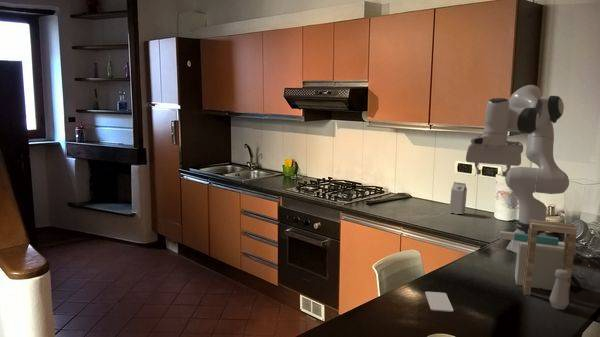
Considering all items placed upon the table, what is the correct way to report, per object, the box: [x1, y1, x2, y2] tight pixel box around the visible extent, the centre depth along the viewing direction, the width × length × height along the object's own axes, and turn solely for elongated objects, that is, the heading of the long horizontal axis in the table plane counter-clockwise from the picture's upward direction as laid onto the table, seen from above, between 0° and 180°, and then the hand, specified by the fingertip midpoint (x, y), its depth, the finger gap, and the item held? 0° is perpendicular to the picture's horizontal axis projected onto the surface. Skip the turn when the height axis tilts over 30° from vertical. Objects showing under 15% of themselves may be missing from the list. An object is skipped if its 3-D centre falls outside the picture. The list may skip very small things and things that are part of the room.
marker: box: [499, 230, 560, 246], centre depth 185 cm, size 2×20×2 cm, turn 70°
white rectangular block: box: [514, 241, 565, 291], centre depth 184 cm, size 10×16×16 cm, turn 70°
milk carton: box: [449, 181, 468, 214], centre depth 293 cm, size 7×7×19 cm
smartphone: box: [425, 291, 454, 313], centre depth 166 cm, size 7×1×15 cm
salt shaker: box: [548, 269, 570, 311], centre depth 164 cm, size 6×6×13 cm
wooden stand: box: [522, 219, 578, 296], centre depth 174 cm, size 7×14×26 cm, turn 70°
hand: (491, 175), depth 192 cm, fingers open, 8 cm apart
